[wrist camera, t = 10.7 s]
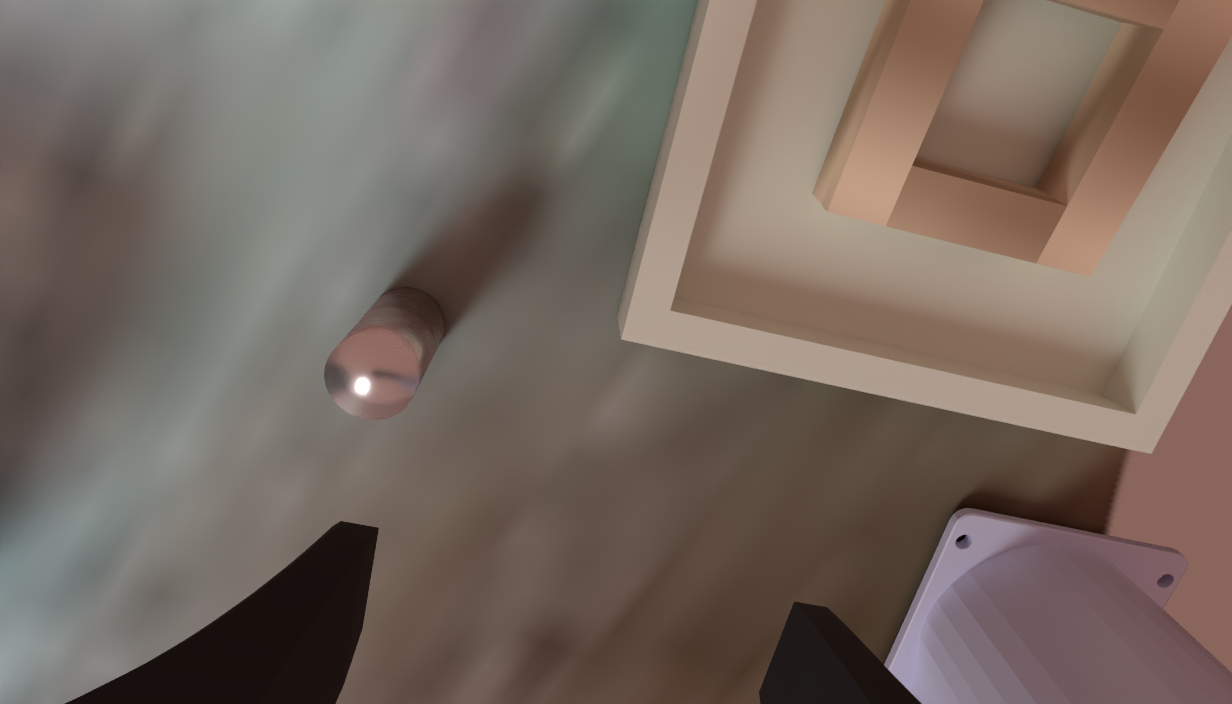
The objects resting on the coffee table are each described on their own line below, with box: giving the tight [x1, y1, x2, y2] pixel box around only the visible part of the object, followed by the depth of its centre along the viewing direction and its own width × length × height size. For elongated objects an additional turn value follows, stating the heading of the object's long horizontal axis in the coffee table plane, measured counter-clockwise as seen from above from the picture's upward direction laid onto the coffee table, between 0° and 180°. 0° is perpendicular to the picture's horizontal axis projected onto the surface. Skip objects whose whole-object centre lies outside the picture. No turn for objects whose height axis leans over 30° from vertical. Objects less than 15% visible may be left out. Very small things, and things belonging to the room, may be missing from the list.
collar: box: [812, 0, 1232, 277], centre depth 16 cm, size 10×7×4 cm
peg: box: [324, 288, 445, 420], centre depth 19 cm, size 2×2×4 cm
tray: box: [617, 0, 1232, 454], centre depth 18 cm, size 15×15×2 cm
